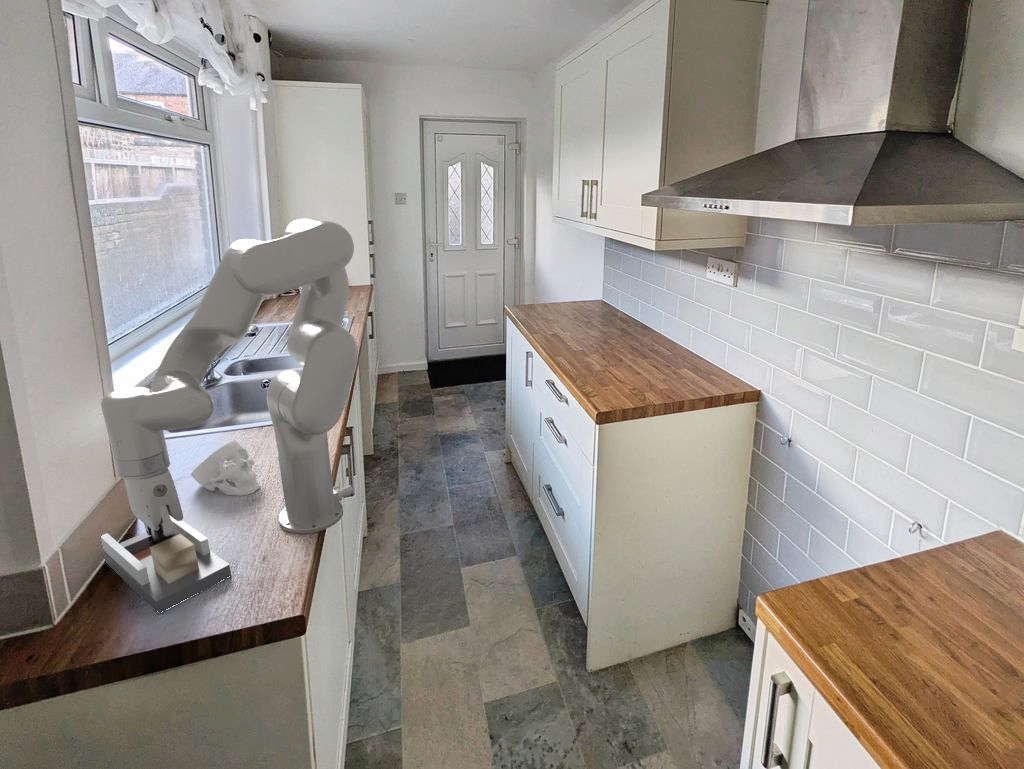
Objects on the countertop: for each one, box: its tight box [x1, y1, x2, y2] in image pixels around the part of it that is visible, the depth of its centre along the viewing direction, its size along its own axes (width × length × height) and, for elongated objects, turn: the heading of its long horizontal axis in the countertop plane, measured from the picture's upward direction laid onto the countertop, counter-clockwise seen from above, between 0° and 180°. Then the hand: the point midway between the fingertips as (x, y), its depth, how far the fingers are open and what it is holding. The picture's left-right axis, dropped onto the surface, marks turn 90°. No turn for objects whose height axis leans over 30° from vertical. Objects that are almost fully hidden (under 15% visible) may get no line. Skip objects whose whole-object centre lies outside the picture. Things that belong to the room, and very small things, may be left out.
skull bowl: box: [190, 439, 261, 497], centre depth 132 cm, size 10×14×12 cm
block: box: [150, 534, 199, 584], centre depth 99 cm, size 5×5×5 cm
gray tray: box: [100, 515, 232, 614], centre depth 104 cm, size 22×12×6 cm, turn 53°
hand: (164, 553), depth 103 cm, fingers closed
